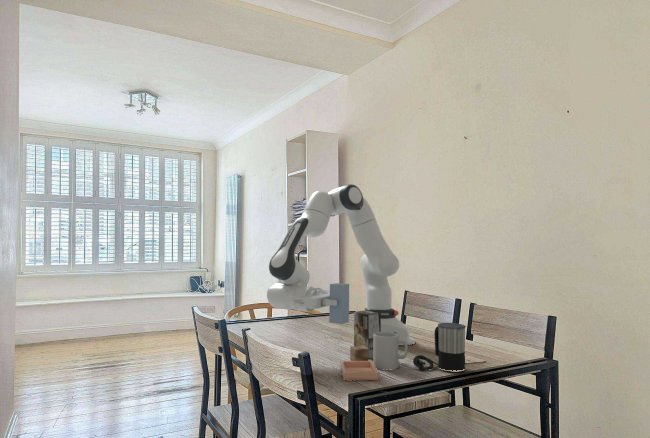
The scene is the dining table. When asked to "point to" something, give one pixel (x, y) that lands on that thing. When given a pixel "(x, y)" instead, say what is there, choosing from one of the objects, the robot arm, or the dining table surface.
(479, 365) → the dining table surface
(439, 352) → the milk frother
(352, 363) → the tray
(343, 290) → the slate block
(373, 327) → the coffee box
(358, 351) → the walnut cube
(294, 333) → the dining table surface
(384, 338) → the mug
